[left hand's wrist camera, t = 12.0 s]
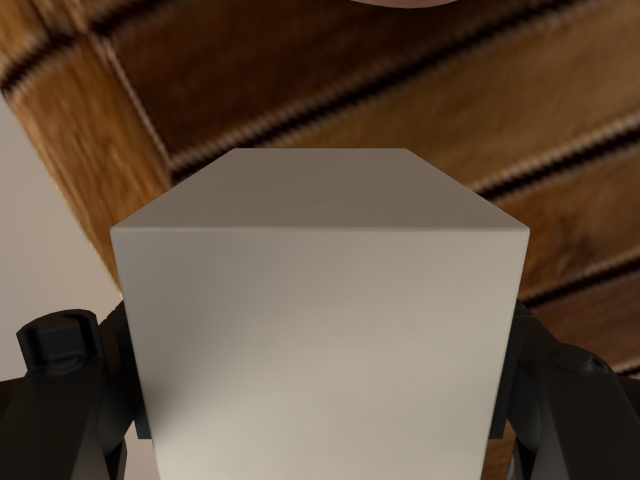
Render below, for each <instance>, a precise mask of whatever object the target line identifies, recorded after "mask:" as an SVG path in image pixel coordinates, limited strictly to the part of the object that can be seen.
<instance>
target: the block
mask: <svg viewBox="0 0 640 480" xmlns="http://www.w3.org/2000/svg"><path fill="white" fill-rule="evenodd" d="M529 234H530V231H529V228H528V227H527V226H525V225H524V224H522V223H521V222H519V221H518V220H516V219H514V218H513V217H511V216H510V215H508V214H507V213H505V212H504V211H502V210H500V209H499V208H497V207H496V206H494V205H493V204H491V203H490V202H488V201H486V200H485V199H483V198H482V197H480V196H479V195H477V194H476V193H474V192H473V191H471V190H469V189H468V188H466V187H465V186H463V185H462V184H460V183H459V182H457V181H455V180H454V179H452V178H451V177H449V176H448V175H446V174H445V173H443V172H441V171H440V170H438V169H437V168H435V167H434V166H432V165H431V164H429V163H428V162H426V161H424V160H423V159H421V158H420V157H418V156H417V155H415V154H414V153H412V152H410V151H409V150H407V149H405V148H235V149H233V150H231V151H229V152H228V153H226V154H225V155H223V156H222V157H220V158H219V159H217V160H215V161H214V162H212V163H211V164H209V165H208V166H206V167H205V168H203V169H201V170H200V171H198V172H197V173H195V174H194V175H192V176H191V177H189V178H188V179H186V180H184V181H183V182H181V183H180V184H178V185H177V186H175V187H174V188H172V189H170V190H169V191H167V192H166V193H164V194H163V195H161V196H160V197H158V198H156V199H155V200H153V201H152V202H150V203H149V204H147V205H146V206H144V207H142V208H141V209H139V210H138V211H136V212H135V213H133V214H132V215H130V216H128V217H127V218H125V219H124V220H122V221H121V222H119V223H118V224H116V225H114V226H113V227H111V229H110V235H111V240H112V245H113V250H114V255H115V260H116V265H117V270H118V275H119V280H120V285H121V290H122V295H123V300H124V305H125V310H126V315H127V320H128V325H129V330H130V335H131V340H132V344H133V349H134V354H135V359H136V364H137V369H138V374H139V379H140V384H141V389H142V394H143V399H144V404H145V409H146V414H147V419H148V424H149V429H150V434H151V439H152V444H153V449H154V454H155V458H156V464H157V468H158V473H159V478H160V480H480V477H481V472H482V467H483V462H484V458H485V453H486V448H487V443H488V438H489V433H490V428H491V423H492V418H493V413H494V408H495V403H496V398H497V393H498V388H499V383H500V378H501V373H502V368H503V363H504V358H505V353H506V348H507V343H508V338H509V333H510V328H511V323H512V318H513V314H514V309H515V304H516V299H517V294H518V289H519V284H520V279H521V274H522V269H523V264H524V259H525V254H526V249H527V244H528V239H529Z"/></svg>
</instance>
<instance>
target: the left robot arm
mask: <svg viewBox="0 0 640 480" xmlns="http://www.w3.org/2000/svg"><path fill="white" fill-rule="evenodd" d="M16 335H17V338H18V341H19V344H20V348H21V351H22V354H23V357H24V360H25V363H26V366H27V369H28V371H27V373H26V374H25V376H24V377H21V378H16V379H11V380H7V381H1V382H0V480H124V473H125V466H126V459H127V448H126V442H125V438H124V436H125V434H126V432H127V430H128V428H129V427H130V425H131V423H132V422H133V420H134V422H135V427H136V432H137V436H138V439H151V434H150V429H149V424H148V419H147V414H146V409H145V404H144V399H143V394H142V389H141V384H140V379H139V374H138V369H137V364H136V359H135V354H134V349H133V344H132V340H131V335H130V330H129V325H128V320H127V315H126V310H125V305H124V300H122V301H121V302H120V304H119V305H118V306H117V307H116V308H115V310H113V311H112V312H111V313H110V314H109V315H108V316H107V319H104V320H103V321H102V322H101V324H100V325H99V326H98V322H97V318H96V315H95V314H94V313H92V312H91V311H88V310H82V309H71V310H63V311H59V312H54V313H50V314H48V315H45V316H42V317H40V318H37V319H35V320H33V321H31V322H30V323H28V324H26V325H24V326H23V327H22V328H21V329H20V330H19V331H18V332H17V333H16ZM506 419H508V421H509V422H510V424H511V426H512V428H513V429H514V431H515V433H516V438H515V442H514V446H513V451H512V455H511V459H510V464H509V468H508V473H507V479H508V480H513V476H514V472H516V480H640V380H638V379H633V378H628V377H623V376H618V375H615V374H614V372H613V370H612V369H611V367H610V366H609V365H608V364H607V363H606V362H605V361H604V360H603V359H601V358H600V357H598V356H597V355H595V354H594V353H592V352H589V351H587V350H585V349H583V348H580V347H577V346H573V345H569V344H566V343H560V342H559V341H558V340H557V339H556V338H555V337H554V336H553V335H552V334H551V333H550V332H549V331H548V330H547V329H546V328H545V327H544V325H543V324H542V323H541V322H540V321H539V320H538V319H537V318H534V315H533V314H532V313H531V312H530V311H529V310H528V309H526V307H525V306H524V305H523V304H522V303H521V302H520V301H519V299H518V298H517V299H516V304H515V309H514V314H513V318H512V323H511V328H510V333H509V338H508V343H507V348H506V353H505V358H504V363H503V368H502V373H501V378H500V383H499V388H498V393H497V398H496V403H495V408H494V413H493V418H492V423H491V428H490V433H489V438H488V439H502V438H503V433H504V428H505V424H506Z"/></svg>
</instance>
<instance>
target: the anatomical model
mask: <svg viewBox="0 0 640 480" xmlns="http://www.w3.org/2000/svg"><path fill="white" fill-rule="evenodd" d="M352 1H357V2H362V3H367V4H372V5H379V6H387V7H399V8H421V7H432V6H437V5H442V4H446V3H450V2H453V1H456V0H352Z"/></svg>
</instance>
